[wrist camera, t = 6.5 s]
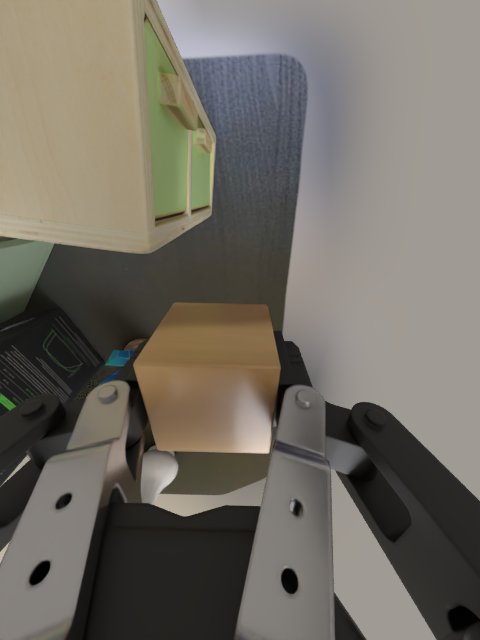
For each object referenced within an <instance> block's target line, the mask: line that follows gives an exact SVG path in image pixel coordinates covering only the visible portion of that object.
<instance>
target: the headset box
mask: <svg viewBox="0 0 480 640" xmlns="http://www.w3.org/2000/svg"><path fill="white" fill-rule="evenodd" d="M103 365H104V362H103V360H102V359H101V358H100V357H99V355H98V354H97V353H96V351H95V350H94V349H93V348H92V346H91V345H90V344H89V343H88V342H87V341H86V339H85V338H84V337H83V336H82V334H81V333H80V332H79V331H78V330H77V328H76V327H75V326H74V325H73V324H72V322H71V321H70V320H69V319H68V317H67V316H66V315H65V314H64V313H63V312H62V311H61V310H60V309H59V308H57V309H54V310H50V311H47V312H44V313H41V314H38V315H35V316H33V317H30V318H27V319H24V320H21V321H18V322H16V323H13V324H11V325H8V326H6V327H3V328H1V329H0V417H1V416H3V415H4V414H6V413H7V412H8V411H10V410H11V409H13V408H14V407H16V406H17V405H19V404H20V403H22V402H24V401H25V400H27V399H30V398H32V397H35V396H38V395H41V394H55V395H57V396H58V397H59V399H60V400H61V402H62V403H66V402H71V401H73V400H74V399H75V398H76V397H77V396H78V394H79V393H80V392H81V391H82V390H83V388H84V387H85V386H86V385H87V384H88V383H89V381H90V380H91V379H92V378H93V377H94V375H95V374H96V373H97V372H98V371H99V370H100V369H101V367H102V366H103ZM26 456H27V453H26V452H25V453H24V454H23V455H22V456H21V457H19V458H18V459H17V460H16V461H15V462H14V463H13V464H11V465H10V466H9V467H8V468H7V469H6V470H4V471H3V472H2V473H1V474H0V486H1V485H2V484H3V483H4V481H5V480H6V479H7V478H8V477H9V476H10V474H11V473H12V472H13V471H14V470H15V468H16V467H17V466H18V465H19V464H20V463H21V462H22V460H23V459H24V458H25V457H26Z"/></svg>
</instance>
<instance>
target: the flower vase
mask: <svg viewBox="0 0 480 640" xmlns="http://www.w3.org/2000/svg"><path fill="white" fill-rule="evenodd" d="M177 472H178V463H177V460H176V458H175V453H174V451H159V450H157V447H156V445H155V446H152V447H150V448H149V449H148V451H147V452H145V453H143V464H142V475H141V497H142V503H149V504H152V505H154V503H155V501H156V499H157V497H158V495H159V494H160V492H161V491H162V490H163V489H164V488H165V487H166V486H167V485H169V484H170V483H171V482H172V481H173V480H174V478H175V476H176V475H177Z"/></svg>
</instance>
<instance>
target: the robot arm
mask: <svg viewBox="0 0 480 640" xmlns="http://www.w3.org/2000/svg"><path fill="white" fill-rule="evenodd" d="M273 333H274V338H275V343H276V347H277V352H278V357H279V362H280V366H281V370H280V378H279V385H278V393H277V400H276V408H275V415H274V422H273V426H277V433H276V438H275V443H274V445H273V449H272V454H271V459H270V464H269V469H268V474H267V478H266V483H265V488H264V493H263V498H262V503H261V506H228V505H226V506H222V507H218V508H215V509H211V510H208V511H205V512H202V513H198V514H195V515H191V516H187V517H183V516H180V515H177V514H175V513H172V512H170V511H167V510H165V509H162V508H159V507H157V506H154V505H152V504H149V503H142V497H141V475H142V464H143V453H144V441H145V434H144V429H145V427H146V424H147V423H150V422H149V419H148V415H147V412H146V408H145V405H144V401H143V398H142V395H141V391H140V388H139V384H138V381H137V377H136V374H135V370H134V367H133V364H134V362H135V360H136V359H137V357H138V356H139V354H140V353H141V351H142V350H143V348H144V347H145V345H146V344H147V342H148V341H149V339H150V338H147V339H146V340H144V341H143V342H142V343H140V344H139V345H138V347H137V348H136V349H135V351H134V353H133V354H132V355H131V356H130V359H128V361H127V362H126V363H125V365H124V366H123V368H122V369H121V370H120V372H119V373H118V375H117V376H116V377H115V379H114V380H113V381H109V382H106V383H103V384H101V385H99V386H97V387H96V388H94V389H93V390H92V391H91V392H90V393H89V394H88V396H87V397H86V398H85V399H80V400H76V401H71V402H66V403H62V402H61V400H60V399H59V397H58V396H57V395H55V394H41V395H38V396H35V397H32V398H30V399H27V400H25V401H24V402H22V403H20V404H19V405H17V406H16V407H14V408H13V409H11V410H10V411H8V412H7V413H6V414H4V415H3V416H1V417H0V474H1V473H2V472H3V471H4V470H6V469H7V468H8V467H9V466H10V465H11V464H13V463H14V462H15V461H16V460H17V459H18V458H19V457H21V456H22V455H23V454H24V453H25V452H26V453H27V454H28V456H29V457H30V458H31V460H30V461H28V462H27V463H26V464H25V465H24V466H23V467H22V468H21V469H20V470H19V471H17V472H16V473H15V474H14V475H13V476H12V477H11V478H10V479H9V480H7V481H6V482H5V483H4V484H3V485H2V486H1V487H0V551H1V550H2V549H3V548H4V547H5V546H6V545H7V544H8V543H9V542H10V543H9V545H8V548H7V550H6V552H5V554H4V557H3V559H2V561H1V563H0V640H366V638H365V637H364V636H363V634H362V632H361V631H360V629H359V628H358V626H357V625H356V623H355V622H354V621H353V619H352V618H351V616H350V615H349V613H348V612H347V610H346V609H345V607H344V606H343V604H342V603H341V602H340V600H339V599H338V597H337V596H336V594H335V593H334V578H333V540H332V503H331V502H332V498H331V469H333V470H335V471H336V473H337V474H338V476H339V478H340V479H341V481H342V483H343V484H344V486H345V488H346V489H347V491H348V493H349V494H350V496H351V498H352V499H353V501H354V503H355V504H356V506H357V508H358V509H359V511H360V513H361V514H362V516H363V518H364V519H365V521H366V523H367V524H368V526H369V528H370V529H371V531H372V533H373V534H374V536H375V538H376V539H377V541H378V543H379V544H380V546H381V548H382V549H383V551H384V553H385V554H386V556H387V558H388V559H389V561H390V562H391V564H392V566H393V568H394V569H395V571H396V573H397V574H398V576H399V578H400V579H401V581H402V583H403V584H404V586H405V588H406V589H407V591H408V593H409V594H410V596H411V598H412V599H413V601H414V603H415V604H416V606H417V608H418V609H419V611H420V613H421V614H422V616H423V618H424V619H425V621H426V622H427V624H428V626H429V628H430V629H431V631H432V633H433V634H434V636H435V638H436V639H437V640H480V501H479V500H478V499H477V498H476V497H475V496H474V495H473V494H472V493H471V492H470V491H469V490H468V489H467V488H466V487H465V486H464V485H463V484H462V483H461V482H460V481H459V480H458V479H457V478H456V477H455V476H454V475H453V474H452V473H451V472H450V471H449V470H448V469H447V468H446V467H445V466H444V465H443V464H442V463H440V462H439V460H438V459H437V458H436V457H435V456H434V455H433V454H432V453H431V452H430V451H428V449H426V448H425V447H424V446H423V445H422V444H421V443H420V442H419V441H418V440H417V439H416V438H415V437H414V436H413V435H412V434H411V433H410V432H409V431H408V430H407V429H406V428H405V427H404V426H403V425H402V424H401V423H400V422H399V421H398V420H397V419H396V418H395V417H394V416H393V415H392V414H391V413H390V412H388V411H387V410H386V409H384V408H382V407H380V406H378V405H376V404H373V403H369V402H360V403H357V404H355V405H354V406H353V408H352V410H350V409H346V408H343V407H339V406H336V405H333V404H330V403H328V402H326V401H325V400H324V398H323V396H322V395H321V394H320V393H319V392H318V391H317V390H315V389H314V388H313V387H312V384H311V382H310V378H309V376H308V373H307V370H306V367H305V365H304V362H303V359H302V357H301V353H300V351H299V348H298V347H297V346H296V345H295V344H294V343H293V342H292V341H284V339H283V335H282V332H281V331H273ZM10 540H11V541H10Z"/></svg>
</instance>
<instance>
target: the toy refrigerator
mask: <svg viewBox="0 0 480 640" xmlns="http://www.w3.org/2000/svg"><path fill="white" fill-rule="evenodd" d="M215 150H216V135H215V133H214V131H213V128H212V126H211V124H210V122H209V120H208V117H207V115H206V113H205V111H204V109H203V106H202V104H201V102H200V99H199V97H198V95H197V92H196V90H195V88H194V85H193V83H192V81H191V78H190V76H189V74H188V71H187V69H186V67H185V64H184V62H183V60H182V58H181V55H180V53H179V51H178V49H177V46H176V44H175V42H174V40H173V37H172V35H171V33H170V31H169V28H168V26H167V24H166V22H165V19H164V17H163V15H162V13H161V10H160V8H159V6H158V3H157V1H156V0H0V236H4V237H12V238H19V239H26V240H35V241H43V242H50V243H58V244H65V245H73V246H81V247H89V248H96V249H104V250H112V251H120V252H128V253H138V254H147V253H151V252H154V251H156V250H157V249H159V248H161V247H162V246H164V245H165V244H167V243H168V242H170V241H172V240H173V239H175V238H176V237H178V236H179V235H181V234H182V233H184V232H185V231H187V230H189V229H191V228H192V227H194V226H195V225H197V224H199V223H200V222H202V221H204V220H205V219H207V218H208V217H210V216H211V215H212V201H213V184H214V167H215Z"/></svg>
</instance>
